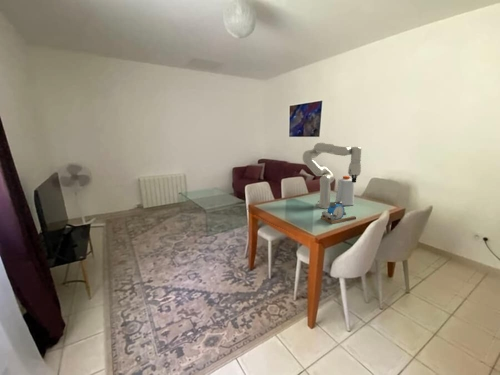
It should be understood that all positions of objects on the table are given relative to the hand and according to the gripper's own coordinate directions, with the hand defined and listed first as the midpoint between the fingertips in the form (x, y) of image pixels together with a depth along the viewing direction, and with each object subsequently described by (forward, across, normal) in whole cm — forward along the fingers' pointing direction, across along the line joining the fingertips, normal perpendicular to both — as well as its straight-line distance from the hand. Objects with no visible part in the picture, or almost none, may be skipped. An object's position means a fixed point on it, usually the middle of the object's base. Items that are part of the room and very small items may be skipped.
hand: (353, 182), depth 195 cm
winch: (+27, +34, +10) cm, 45 cm away
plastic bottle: (+27, -12, -21) cm, 36 cm away
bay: (+27, +22, +9) cm, 36 cm away
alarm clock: (+27, +26, +9) cm, 39 cm away
